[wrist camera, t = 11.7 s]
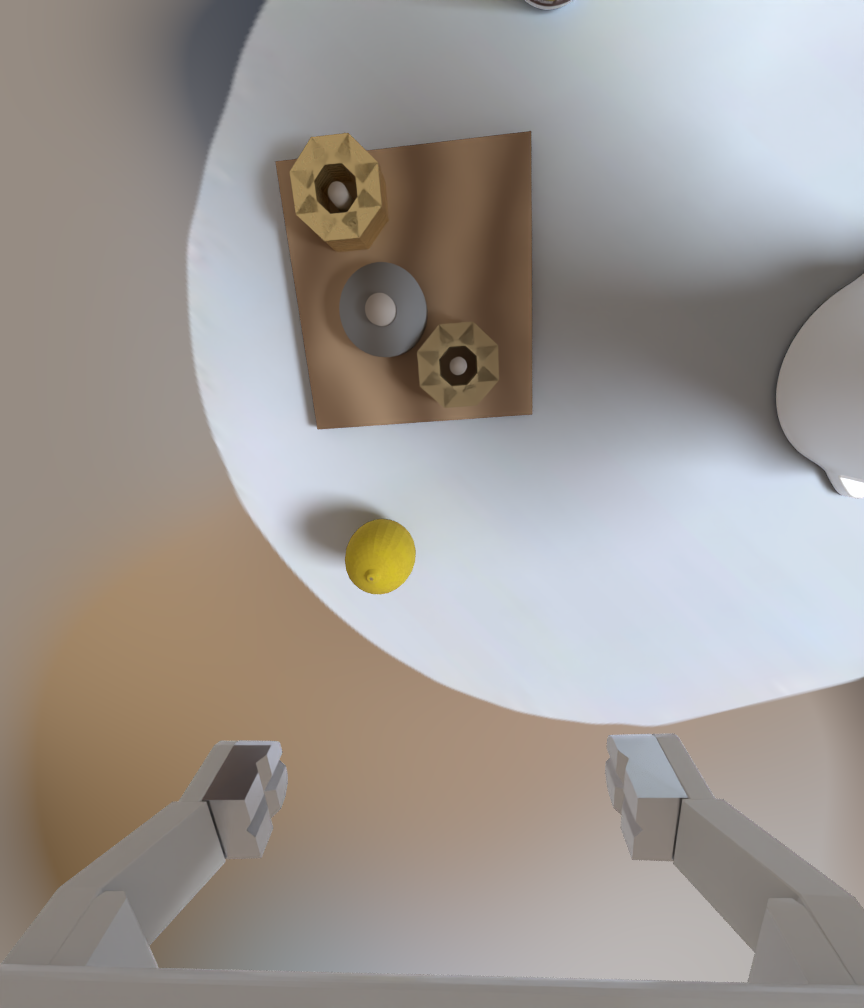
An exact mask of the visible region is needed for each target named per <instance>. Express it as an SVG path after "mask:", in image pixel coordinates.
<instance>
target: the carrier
mask: <svg viewBox="0 0 864 1008" xmlns="http://www.w3.org/2000/svg"><path fill="white" fill-rule="evenodd" d="M367 152H368V153H369V154H370V155H371V156H372V157H373V158H374V159H375V160H376V161H377V162H378V164H379V167H380V169H381V172H382V174H383V177H384V179H385V182H386V194H387V205H388V217H389V221H388V223H387V224H386V225H385V227H384V228H383V230H382V231H381V232H380V234H379V235H378V237H377V238H376V239H375V241H374V242H373V244H372V245H371V246H370V248H369V249H367V250H356V251H345V252H336V251H335V250H334V249H333V248H332V247H330V246H329V245H328V244H327V243H326V242H325V241H324V240H323V239H322V238H321V237H320V236H319V235H318V234H316V233H315V232H314V231H313V230H312V229H311V228H310V227H309V226H308V225H307V224H306V223H305V222H304V221H302V220H301V219H300V218H299V217H298V216H297V215H296V212H295V205H294V198H293V191H292V184H291V177H290V170H291V169H292V167H293V165H294V164H295V162H296V161H297V159H292V160H284V161H275V162H276V169H277V175H278V181H279V188H280V194H281V200H282V207H283V213H284V219H285V226H286V232H287V239H288V245H289V251H290V258H291V264H292V270H293V277H294V283H295V289H296V296H297V302H298V308H299V315H300V321H301V328H302V334H303V340H304V347H305V353H306V359H307V366H308V372H309V378H310V385H311V391H312V397H313V404H314V410H315V416H316V423H317V429H330V428H345V427H359V426H373V425H388V424H402V423H416V422H431V421H445V420H459V419H474V418H488V417H502V416H517V415H531V414H532V201H531V131H528V132H519V133H511V134H503V135H494V136H486V137H477V138H469V139H460V140H452V141H444V142H435V143H427V144H418V145H410V146H402V147H393V148H385V149H376V150H368V151H367ZM328 195H329V197H328V203H329V211H330V214H334V213H344V212H348V210H349V209H350V207H351V206H352V204H353V203H354V201H355V200H356V198H357V197H358V196H357V186H356V185H355V184H354V183H353V182H352V183H341V182H339V181H335V182H333V183H331V184H330V186H329V189H328Z"/></svg>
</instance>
